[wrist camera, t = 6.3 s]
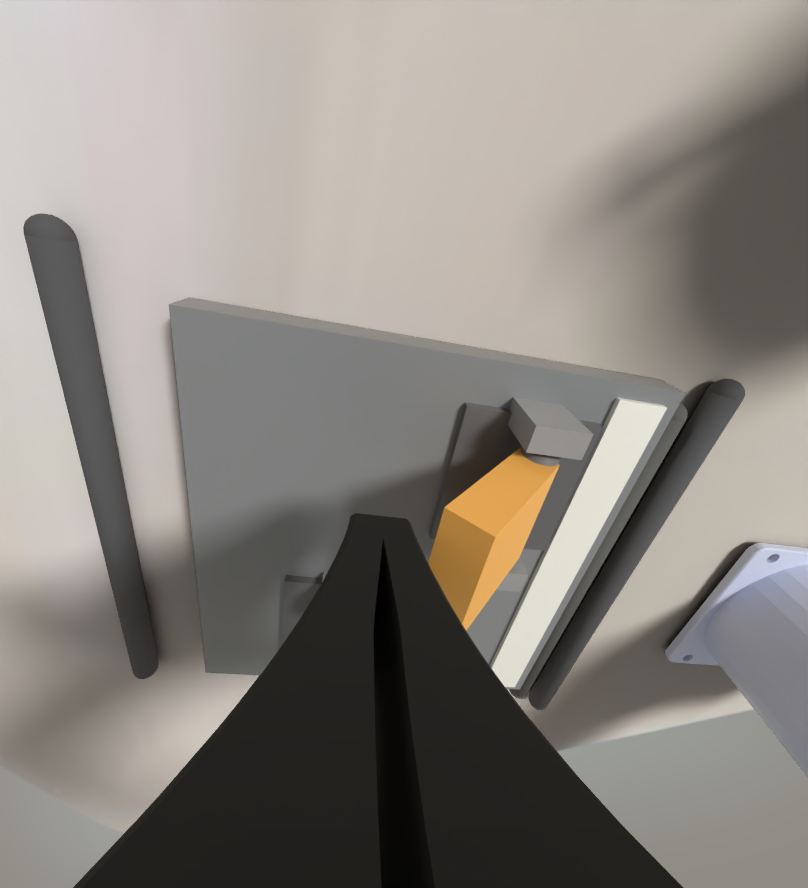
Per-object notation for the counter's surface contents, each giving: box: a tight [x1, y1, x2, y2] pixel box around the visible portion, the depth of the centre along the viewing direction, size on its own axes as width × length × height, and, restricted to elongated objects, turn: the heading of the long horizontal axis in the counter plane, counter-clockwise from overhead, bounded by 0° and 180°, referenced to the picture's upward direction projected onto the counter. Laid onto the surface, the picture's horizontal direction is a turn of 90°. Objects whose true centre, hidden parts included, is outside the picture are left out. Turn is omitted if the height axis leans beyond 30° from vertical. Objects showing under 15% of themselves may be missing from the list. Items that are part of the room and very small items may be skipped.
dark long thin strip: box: [509, 403, 688, 698], centre depth 17 cm, size 1×17×1 cm, turn 169°
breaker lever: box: [428, 447, 561, 631], centre depth 11 cm, size 1×4×5 cm
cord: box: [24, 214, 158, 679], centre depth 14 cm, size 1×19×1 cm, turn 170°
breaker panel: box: [169, 298, 685, 689], centre depth 14 cm, size 15×16×3 cm
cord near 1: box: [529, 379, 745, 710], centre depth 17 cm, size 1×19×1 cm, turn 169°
